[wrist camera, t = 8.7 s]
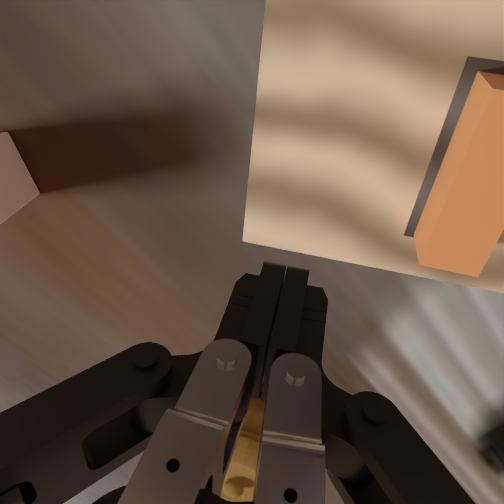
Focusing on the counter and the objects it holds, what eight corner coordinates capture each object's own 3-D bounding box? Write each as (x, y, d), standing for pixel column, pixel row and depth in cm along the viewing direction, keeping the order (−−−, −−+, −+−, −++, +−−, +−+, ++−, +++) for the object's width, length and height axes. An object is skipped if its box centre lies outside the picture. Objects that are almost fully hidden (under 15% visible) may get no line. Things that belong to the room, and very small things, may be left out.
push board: (272, -40, 27) (269, -39, 26) (749, 19, 24) (763, 21, 23) (245, 234, 38) (242, 241, 38) (560, 297, 35) (564, 305, 35)
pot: (212, 366, 50) (183, 448, 42) (313, 398, 49) (303, 487, 41) (198, 423, 57) (171, 503, 49) (286, 452, 56) (273, 536, 48)
